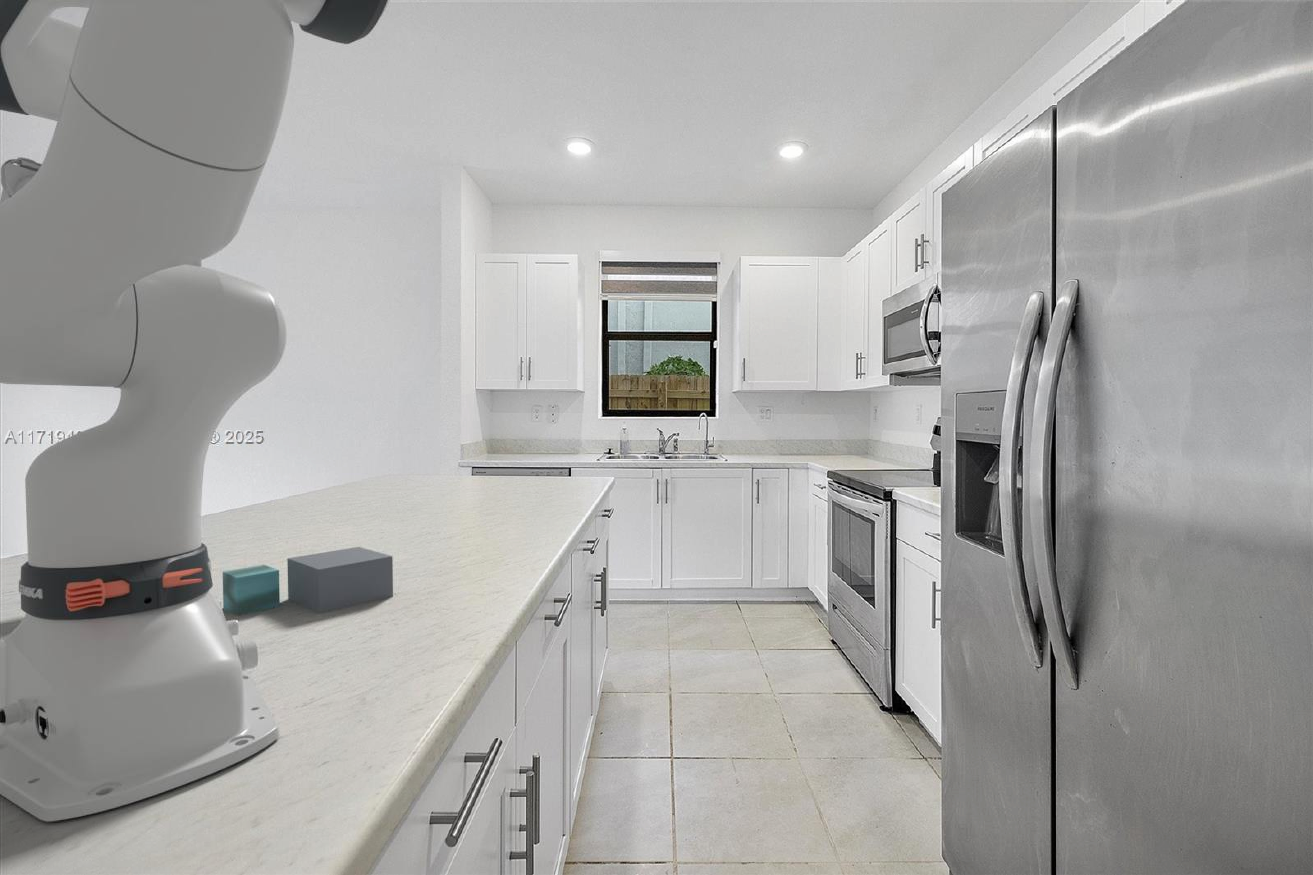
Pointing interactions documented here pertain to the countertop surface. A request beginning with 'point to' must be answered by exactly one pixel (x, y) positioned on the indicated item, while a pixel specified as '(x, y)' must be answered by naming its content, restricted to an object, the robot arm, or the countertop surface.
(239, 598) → the teal block
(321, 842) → the countertop surface
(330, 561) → the charcoal block
